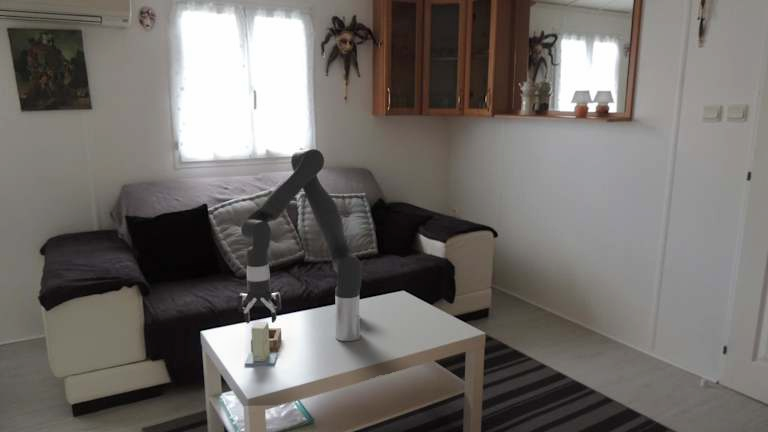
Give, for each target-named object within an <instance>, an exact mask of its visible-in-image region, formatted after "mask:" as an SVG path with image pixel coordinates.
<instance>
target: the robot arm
mask: <svg viewBox="0 0 768 432" xmlns="http://www.w3.org/2000/svg"><path fill="white" fill-rule="evenodd" d="M290 163H291V167H292V171H293V173H291V175H290V176H289V177H288V178H287V179H285V181H283V182H282V183H281V184H279V185H278V186H277V187H276V188H275V189H274V190H273V191H272V192H271V193H270V194H269V195H268V197H267V198H266V199H265V200H264V202H263V203H262V204H261V205H260V207H258V208H257V209H256V210H254V211H253V212H251V214H249V215H248V216H247V218H245V219H244V221H243V222H242V225H241V229H240V232H241V235H242V236H243V237H244V238H245V239H248V240H252V246H250V247H249V248H247V250H246V283H247V293H243V292H239V295H238V299H237V300H238V302H237V303H238V304H237V305H238V306H237V307H238V312H239V313H241V312H242V313H243V315H244V322H245V323H246V324H250V322H251V321H250V320H251V319H250V309H251V308H253V306H254V307H256V308H257V307H265V306H266V307H267V309H269V310H270V311H271V313H270V314H271V323H275V322H276V321H277V312H279V311H281V309H282V300H281V293H280V292H279V291H277V292H273V293H272V291H271V277H270V267H269V266H270V265H269V253H268V252H269V248H270V245H271V238H272V229H271V226H270V224H269V222H274V221H277V220H278V219H279V218H280V216H281V215H282V214H283V213H284V212H285V210H286V209H287V208H288V206H289V204H290V203H291V202H292V201H293V200H294V198H295V197H296V196H297V195H298V194H299V193H300V192H301V190H303V191H304V194H305V197H306V200H307V203H308V204H309V206H310V207H309V208H310V209H311V212H312V215H313V216H314V220H315V222H316V225H317V227H318V229H319V231H320V233H321V236H322V237H323V239H324V241H325V243H326V246H327V247H328V248H327V249H328V252H329V255H330V258H331V262H332V266H333V269H334V271H335V272H336V273H337V286H336V287H335V289H334V293H335V294H334V295H335V297H334V299H335V303H334V304H335V309H334V310H335V314H334V315H335V316H334V317H335V331H334V332H335V339H337V340H338V341H341V342H352V341H353V342H354V341H359V340H360V290H361V288H362V264H361V260H360V259H359V258H357V256H355V255H354V254H353V252H352V251H351V248H350V247H349V245H348V243H347V240H346V237H345V232H344V224H343V219H342V216H341V213H340V211H339V208H338V206H337V205H338V204H336V202H335V200H334V199H333V198H332V196H331V195H330V194H329V193H328V191H327V190H326V189H325V188H324V187H323V186H322V184H321V181H320V179H319V178H318V174H319V173H320V172H321V171H322V169H323V168H324V164H325V157H324V155H323V153H322V152H321V151H320V150H318V149H316V148H306V149H300V150H297V151H295V152H294V153H293V154H292V155H291V161H290ZM272 298H273V299H274V300H275V302H276V303H275V305H276V306H275V305H274V304H273V303H274V302H272V301H271V300H272ZM246 299H247V301H249V302H248V304H247V305H246V307H244V301H245V300H246Z"/></svg>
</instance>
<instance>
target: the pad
mask: <svg viewBox="0 0 768 432" xmlns="http://www.w3.org/2000/svg"><path fill="white" fill-rule="evenodd" d="M277 357H278V352H270V355H269V356H268V358H267V359H266V360H265V362H260V361H253V353H247V357H246V360H245V362H244V367H273V366H275V364H276V361H277Z"/></svg>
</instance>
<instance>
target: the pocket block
mask: <svg viewBox="0 0 768 432" xmlns="http://www.w3.org/2000/svg"><path fill="white" fill-rule="evenodd" d="M281 341H282V328H281V327H274V328H272V327H270V328H269V349H270V353H278V352H279V349H280V345H281ZM250 349H251V350H250V351H251V352H250V353H253V351H252V338H251V339H250Z"/></svg>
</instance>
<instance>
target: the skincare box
mask: <svg viewBox="0 0 768 432" xmlns="http://www.w3.org/2000/svg"><path fill="white" fill-rule="evenodd" d="M251 339H252V351H253V352H252V354H253V361H260V362H265V360H266V359H267V358H268V356H269V355H270V353H271V352H270V349H269V322H265V321H264V322H261V321H257V322H255V324H254V325H253V326H252V327H251Z"/></svg>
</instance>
